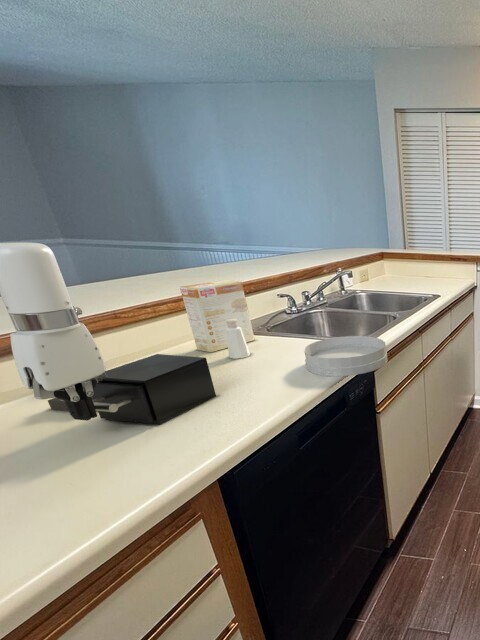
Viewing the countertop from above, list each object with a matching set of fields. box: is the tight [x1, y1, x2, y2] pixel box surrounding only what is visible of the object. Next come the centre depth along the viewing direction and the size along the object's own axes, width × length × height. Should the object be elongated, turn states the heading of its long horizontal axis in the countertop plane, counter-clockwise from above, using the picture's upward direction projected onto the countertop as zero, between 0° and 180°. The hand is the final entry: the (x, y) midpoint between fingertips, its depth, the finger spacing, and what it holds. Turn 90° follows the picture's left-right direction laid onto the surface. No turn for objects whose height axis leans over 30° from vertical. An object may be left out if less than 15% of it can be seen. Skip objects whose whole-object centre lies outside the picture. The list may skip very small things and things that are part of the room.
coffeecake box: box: [179, 279, 256, 353], centre depth 132 cm, size 15×7×20 cm, turn 157°
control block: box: [47, 396, 93, 412], centre depth 94 cm, size 10×12×4 cm
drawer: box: [92, 381, 155, 424], centre depth 87 cm, size 18×11×8 cm, turn 171°
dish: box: [303, 335, 388, 377], centre depth 121 cm, size 22×22×5 cm
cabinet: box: [100, 353, 217, 426], centre depth 91 cm, size 15×13×10 cm
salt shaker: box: [226, 319, 251, 360], centre depth 123 cm, size 5×5×11 cm
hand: (85, 417), depth 77 cm, fingers closed
